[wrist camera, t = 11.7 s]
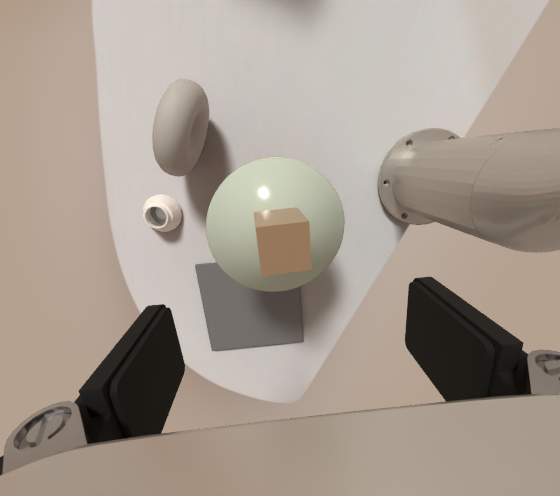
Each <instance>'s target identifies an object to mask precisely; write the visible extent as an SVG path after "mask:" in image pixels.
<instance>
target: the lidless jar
mask: <svg viewBox="0 0 560 496" xmlns="http://www.w3.org/2000/svg"><path fill="white" fill-rule="evenodd" d="M151 207H157V209H156V215H157V217H158V218H159V219H161V220H166V223H165V224H164V225H160V224H158V223H157V222H155V221H154V220H153V218H152V217H151V212H150V211H151ZM143 216H144V220H145V222H146V223H147V224H148V225H149V226H150V227H152V228H153V229H155V230H157V231H161V232H167V231H171V230H173V229H175V228H176V227H177V226H178V225H179V224H180V222H181V218H182V213H181V208H180V206H179V205H178V203H177V202H176V201H175V200H174V199H172V198H171V197H169V196H166V195H154V196H153V197H151V198H149V199H148V200H147V201H146V202H145V204H144V206H143Z"/></svg>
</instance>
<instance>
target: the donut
mask: <svg viewBox="0 0 560 496" xmlns="http://www.w3.org/2000/svg"><path fill="white" fill-rule="evenodd" d="M208 122H209V105H208V99H207V96H206V94H205V92H204V90H203V88H202V87H201V86H200V85H199V84H197V83H196V82H194V81H191V80H188V79H179V80H177V81H176V82H174V83H172V84H171V85H169V87H168V88H167V89H166V91H165V92H164V94H163V96H162V98H161V100H160V103H159V105H158V107H157V111H156V115H155V119H154V126H153V150H154V155H155V159H156V161H157V163H158V164H159V166H160V167H161V169H162V170H163V171H164V172H166V173H168V174H170V175H173V176H178V177H179V176H183V175H185V174H187V173H189V172H190V171H191V170H192V169H193V168H194V166H195V165H196V164H197V162H198V160H199V158H200V155H201V152H202V150H203V147H204V143H205V139H206V135H207V130H208Z"/></svg>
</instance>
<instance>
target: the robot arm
mask: <svg viewBox="0 0 560 496" xmlns="http://www.w3.org/2000/svg"><path fill="white" fill-rule="evenodd" d="M406 142H408V144H407V145H406ZM384 181H385V184H383V183H384ZM378 189H379V195H380V198H381V202H382V203H383V205H384V207H385V209H386V210H387V211H388V212H389V213H390V214H391V215H392V216H394V217H395V218H396V219H398V220H400V221H403V222H406V223H409V224H416V225H420V224H428V223H432V222H438V223H441V224H443V225H446V226H449V227H451V228H454V229H457V230H460V231H462V232H465V233H467V234H470V235H473V236H476V237H478V238H481V239H484V240H486V241H489V242H492V243H495V244H498V245H500V246H503V247H506V248H509V249H513V250H517V251H523V252H551V251H556V250H560V128H552V129H544V130H534V131H524V132H515V133H506V134H497V135H487V136H477V137H467V138H460V137H459V136H458V135H456V134H454V133H452V132H451V131H448V130H444V129H439V128H430V129H424V130H420V131H417V132H414V133H412V134H410V135H408V136H406V137H404V138H403V139H402V140H400V141H399V142H398V143H397V144H396V145H395V146H394V147H393V148H392V149H391V150H390V152H389V153H388V155H387V156H386V158H385V160H384V162H383V164H382V166H381V170H380V173H379V180H378ZM402 214H403V215H402ZM405 343H406V347H407V349H408V350H409V352H410V353H411V354H412V356H413V357H414V359H415V360H416V361H417V363H418V364H419V365H420V367H421V368H422V369H423V371H424V372H425V373H426V375H427V376H428V377H429V379H430V380H431V382H432V383H433V384H434V386H435V387H436V388H437V389H438V391H439V392H440V394H441V395H442V396H443V398H444V399H445V400H446V402H438V403H429V404H420V405H410V406H401V407H391V408H382V409H372V410H363V411H353V412H344V413H335V414H326V415H318V416H309V417H299V418H290V419H281V420H273V421H264V422H255V423H247V424H238V425H230V426H222V427H213V428H204V429H196V430H188V431H180V432H171V433H162V434H161V432H162V430H163V427H164V424H165V422H166V419H167V416H168V413H169V411H170V408H171V406H172V403H173V401H174V398H175V396H176V393H177V390H178V388H179V385H180V383H181V380H182V377H183V375H184V371H185V364H184V360H183V356H182V352H181V348H180V344H179V340H178V336H177V332H176V328H175V324H174V320H173V316H172V312H171V309H170V308H166V306H165V305H164V304H162V305H152V306H147V307H146V308H145V310H144V311H143V312H142V313H141V314H140V316H139V317H138V318H137V320H136V321H135V322H134V323H133V324H132V326H131V327H130V328H129V330H128V331H127V332H126V333H125V334H124V335H123V337H122V338H121V339H120V341H119V342H118V343H117V344H116V345H115V347H114V348H113V349H112V350H111V352H110V353H109V354H108V355H107V357H106V358H105V359H104V360H103V361H102V363H101V364H100V365H99V367H98V368H97V369H96V370H95V371H94V373H93V374H92V375H91V376H90V378H89V379H88V380H87V381H86V383H85V384H84V385H83V386H82V388H81V389H80V390H79V393H80V396H79V397H78V398H77V399H76V401H75V402H70V401H67V402H60V403H56V404H52V405H50V406H48V407H46V408H43V409H41V410H40V411H38V412H36V413H35V414H33V415H31V416H30V417H29V418H27V419H26V420H25V421H23V422H22V423H21V424H20V425H19V426H18V427H17V428H16V429H15V430H14V431H13V432H12V434H11V435H10V436H9V438H8V439H7V442H6V445H5V448H4V455H3V456H2V457H0V496H560V352H556V351H550V350H536V351H532V352H531V353H529V354H527V353H525V352H524V351H523V350H522V347H523V342H521V341H520V340H519V339H517V338H516V337H515V336H513V335H512V334H510V333H509V332H508V331H506V330H505V329H503V328H502V327H501V326H499V325H498V324H496V323H495V322H494V321H492V320H491V319H489V318H488V317H487V316H485V315H484V314H483V313H481V312H480V311H478V310H477V309H476V308H474V307H472V306H471V305H470V304H468V303H467V302H466V301H464V300H463V299H461V298H460V297H459V296H457V295H456V294H455V293H453V292H452V291H450V290H449V289H448V288H446V287H445V286H443V285H442V284H441V283H439V282H438V281H436V280H435V279H434V278H432V277H424V278H415V279H414V280H413V282H411V283H410V284H409V292H408V307H407V320H406V334H405Z"/></svg>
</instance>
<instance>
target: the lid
mask: <svg viewBox="0 0 560 496" xmlns="http://www.w3.org/2000/svg"><path fill="white" fill-rule="evenodd" d="M344 223H345V222H344V211H343V207H342V203H341V200H340V197H339V195H338V193H337V192H336V190H335V188H334V187H333V185H332V184H331V182H330V181H329V180H328V179H327V178H326V177H325V176H324V175H323V174H322V173H321V172H319V171H318V170H317V169H315V168H313V167H312V166H310V165H308V164H306V163H303V162H301V161H298V160H294V159H290V158H284V157H268V158H262V159H258V160H255V161H251V162H249V163H247V164H245V165H243V166H241V167H239V168H238V169H236V170H235V171H234V172H232V173H231V174H230V175H229V176H228V177H227V178H226V179H225V180H224V181H223V182H222V183H221V185H220V186H219V188H218V189H217V191H216V192H215V194H214V196H213V198H212V200H211V202H210V205H209V209H208V212H207V219H206V234H207V241H208V244H209V248H210V250H211V253H212V255H213V257H214V258H215V260H216V262H217V263H218V265H219V266H220V267H221V268H222V270H223V271H224V272H225V273H226V274H227V275H228V276H230V277H231V278H232V279H234V280H235V281H237V282H239V283H240V284H242V285H244V286H247V287H249V288H252V289H256V290H261V291H269V292H277V291H286V290H291V289H294V288H297V287H300V286H302V285H304V284H307V283H308V282H310V281H312V280H313V279H315V278H316V277H317V276H319V275H320V274H321V273H322V272H323V271H324V270H325V269H326V268H327V267H328V266H329V264H330V263H331V262H332V260H333V259H334V257H335V256H336V254H337V252H338V250H339V248H340V245H341V242H342V239H343V233H344Z"/></svg>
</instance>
